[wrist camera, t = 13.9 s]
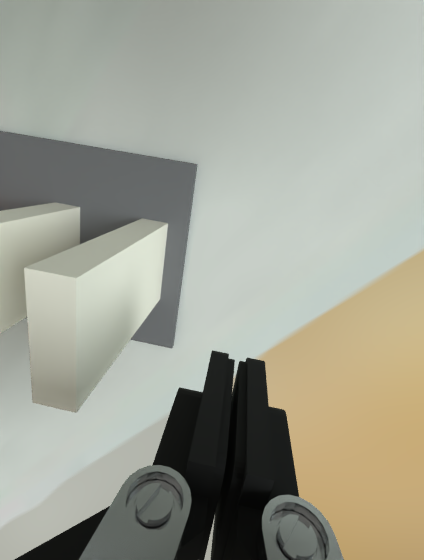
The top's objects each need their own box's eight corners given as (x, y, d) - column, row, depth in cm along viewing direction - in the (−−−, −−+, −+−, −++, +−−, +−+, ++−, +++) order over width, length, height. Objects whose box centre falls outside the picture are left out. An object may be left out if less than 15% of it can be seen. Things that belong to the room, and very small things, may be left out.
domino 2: (168, 223, 18) (76, 278, 9) (160, 299, 20) (76, 412, 10) (142, 218, 18) (23, 267, 9) (136, 294, 20) (32, 402, 11)
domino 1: (80, 207, 18) (-99, 243, 9) (79, 283, 20) (-71, 378, 11) (55, 202, 19) (-147, 233, 9) (57, 278, 20) (-111, 369, 11)
